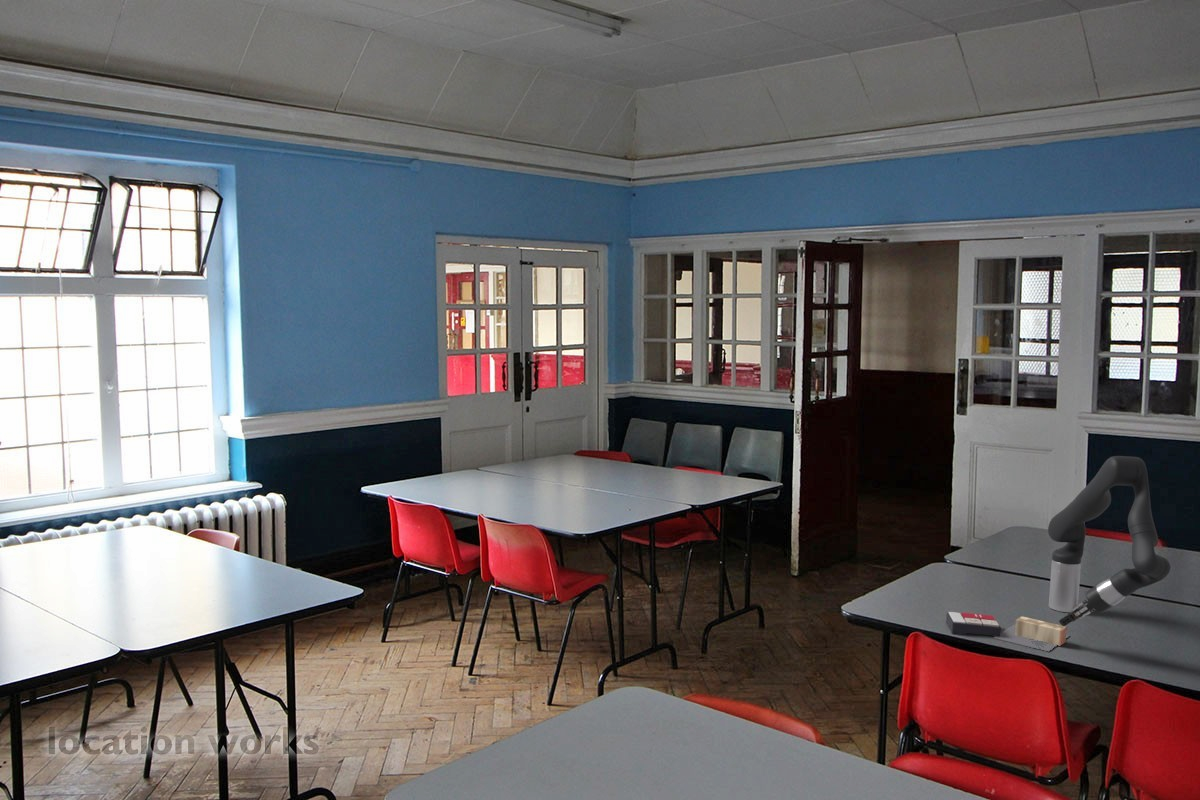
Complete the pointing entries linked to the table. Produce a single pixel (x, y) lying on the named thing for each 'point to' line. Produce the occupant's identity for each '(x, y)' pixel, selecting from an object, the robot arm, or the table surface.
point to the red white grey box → (972, 624)
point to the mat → (1022, 639)
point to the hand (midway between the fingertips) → (1061, 623)
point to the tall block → (1040, 631)
